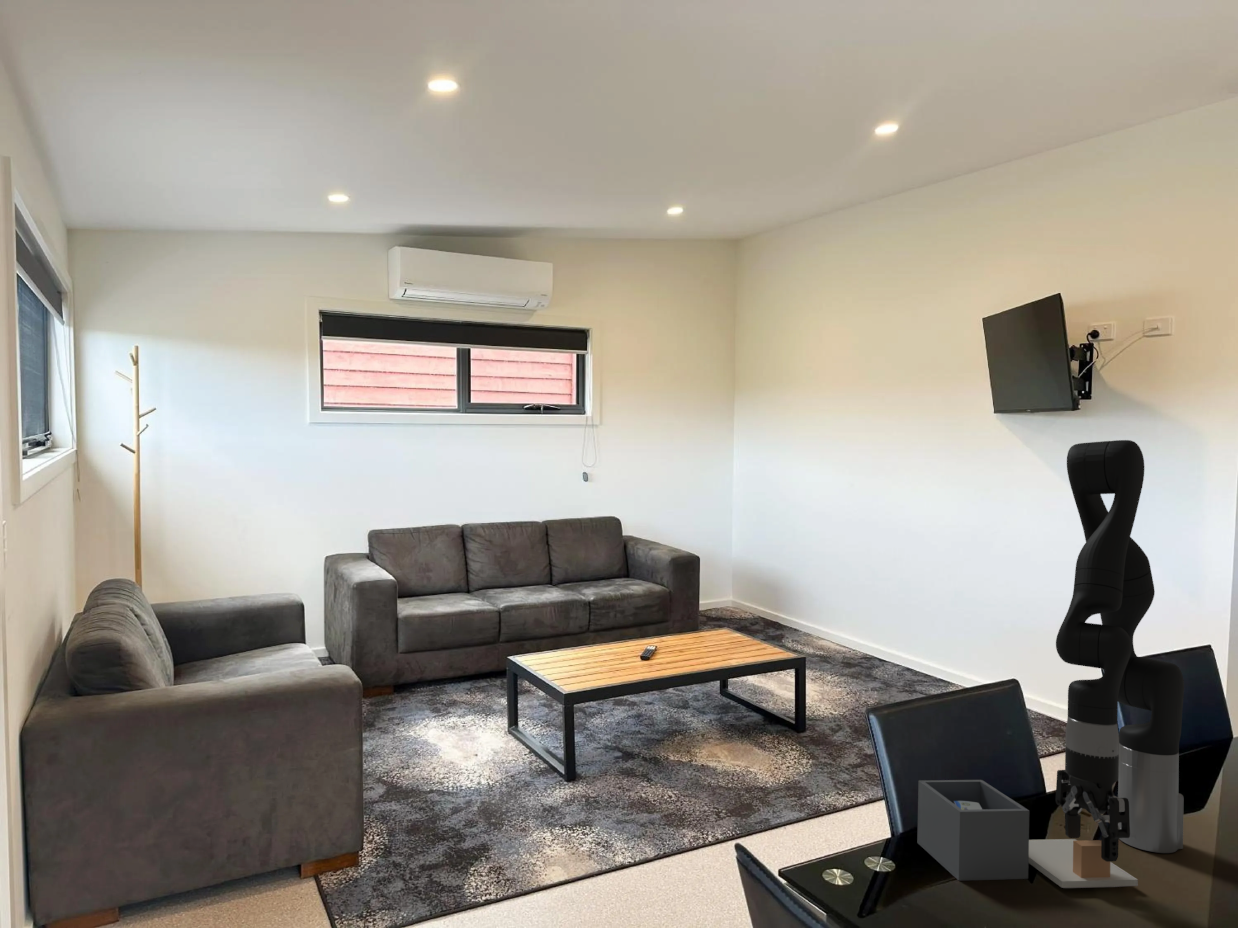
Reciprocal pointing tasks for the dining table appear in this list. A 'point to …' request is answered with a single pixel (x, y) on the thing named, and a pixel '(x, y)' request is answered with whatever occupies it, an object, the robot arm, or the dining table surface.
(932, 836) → the tub
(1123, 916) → the dining table surface
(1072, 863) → the lid
